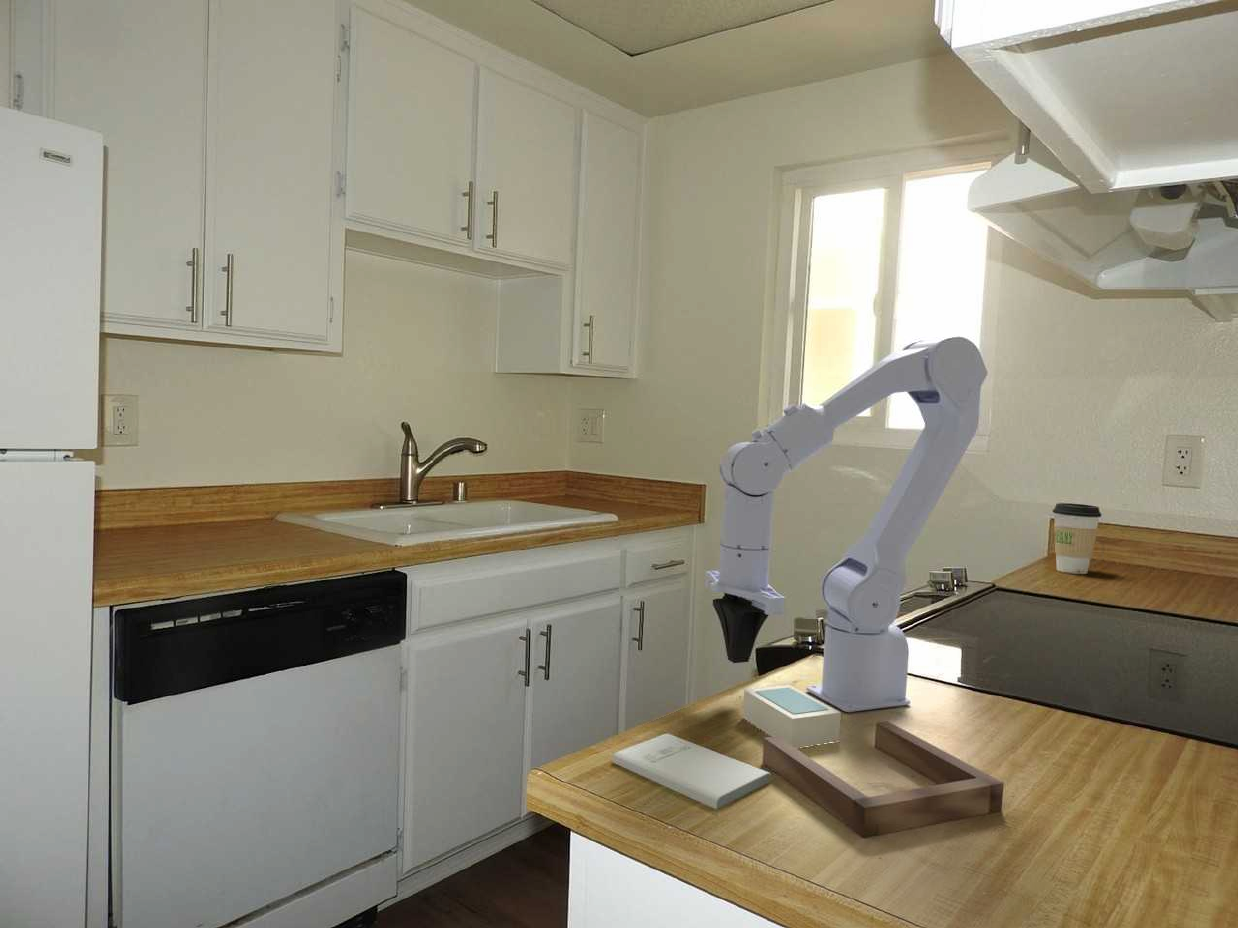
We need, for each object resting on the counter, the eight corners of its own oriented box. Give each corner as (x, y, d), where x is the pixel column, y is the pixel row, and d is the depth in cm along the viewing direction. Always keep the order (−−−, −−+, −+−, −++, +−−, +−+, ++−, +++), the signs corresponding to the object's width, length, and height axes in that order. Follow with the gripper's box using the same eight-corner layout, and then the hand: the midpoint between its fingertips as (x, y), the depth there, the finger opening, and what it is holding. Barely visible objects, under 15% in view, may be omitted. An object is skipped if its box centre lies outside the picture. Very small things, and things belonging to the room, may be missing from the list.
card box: (787, 714, 98) (789, 683, 97) (838, 745, 90) (840, 711, 89) (742, 720, 95) (744, 688, 95) (790, 752, 87) (792, 717, 87)
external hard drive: (715, 816, 74) (612, 768, 82) (770, 788, 80) (668, 746, 88) (716, 797, 73) (613, 751, 82) (771, 771, 79) (669, 730, 88)
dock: (886, 744, 89) (887, 721, 89) (1001, 810, 76) (1003, 782, 75) (762, 762, 83) (763, 737, 83) (863, 837, 70) (865, 807, 70)
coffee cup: (1049, 565, 202) (1054, 501, 201) (1097, 570, 198) (1102, 505, 196) (1046, 571, 194) (1051, 505, 193) (1096, 577, 189) (1102, 509, 188)
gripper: (685, 536, 105) (679, 645, 106) (748, 558, 92) (741, 683, 93) (736, 535, 108) (729, 641, 109) (804, 557, 95) (796, 678, 96)
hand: (738, 660), depth 101 cm, fingers closed
